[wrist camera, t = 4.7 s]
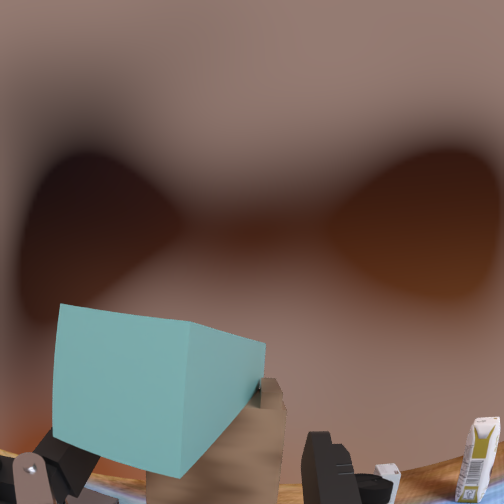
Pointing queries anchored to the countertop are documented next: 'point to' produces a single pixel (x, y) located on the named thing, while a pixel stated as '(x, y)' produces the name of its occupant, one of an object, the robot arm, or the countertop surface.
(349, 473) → the robot arm
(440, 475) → the countertop surface
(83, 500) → the charcoal pedestal
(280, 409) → the walnut stand
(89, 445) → the teal bar
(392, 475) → the skincare box
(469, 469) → the juice carton
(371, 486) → the travel mug
